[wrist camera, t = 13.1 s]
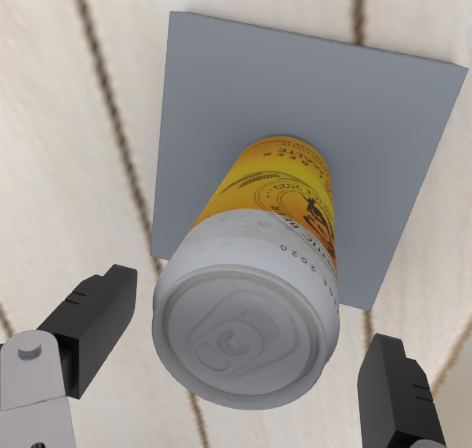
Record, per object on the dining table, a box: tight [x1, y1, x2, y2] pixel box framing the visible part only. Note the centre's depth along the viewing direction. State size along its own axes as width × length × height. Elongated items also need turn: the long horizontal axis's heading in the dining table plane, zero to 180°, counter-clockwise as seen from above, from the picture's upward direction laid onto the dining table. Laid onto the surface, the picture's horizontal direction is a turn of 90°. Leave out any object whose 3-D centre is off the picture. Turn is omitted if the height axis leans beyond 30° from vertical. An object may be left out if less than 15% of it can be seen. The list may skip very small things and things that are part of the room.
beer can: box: [152, 136, 340, 410], centre depth 19 cm, size 6×6×15 cm
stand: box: [150, 11, 469, 311], centre depth 27 cm, size 16×16×3 cm
